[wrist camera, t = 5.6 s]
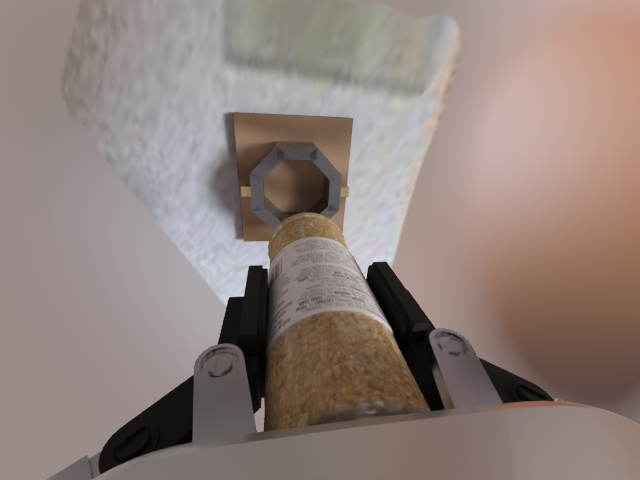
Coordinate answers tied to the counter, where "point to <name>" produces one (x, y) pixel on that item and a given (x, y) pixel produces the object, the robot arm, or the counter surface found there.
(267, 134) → the walnut board
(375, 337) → the sprinkles bottle
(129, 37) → the counter surface
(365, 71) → the counter surface
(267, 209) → the socket
